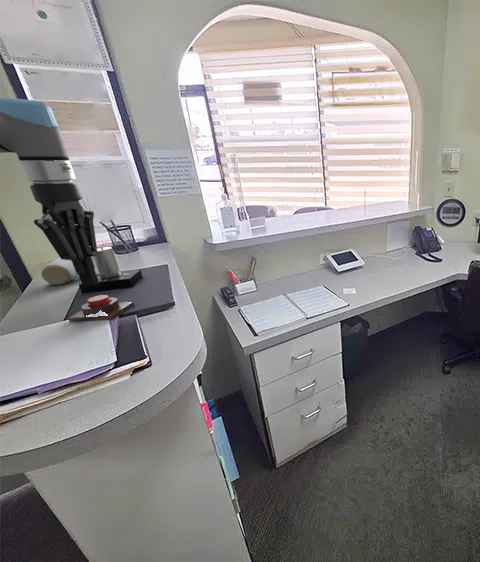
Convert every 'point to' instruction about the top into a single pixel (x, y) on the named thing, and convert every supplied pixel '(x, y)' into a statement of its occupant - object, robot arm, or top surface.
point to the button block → (111, 309)
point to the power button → (98, 300)
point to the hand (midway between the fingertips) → (90, 284)
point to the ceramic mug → (59, 272)
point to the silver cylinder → (106, 263)
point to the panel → (114, 282)
